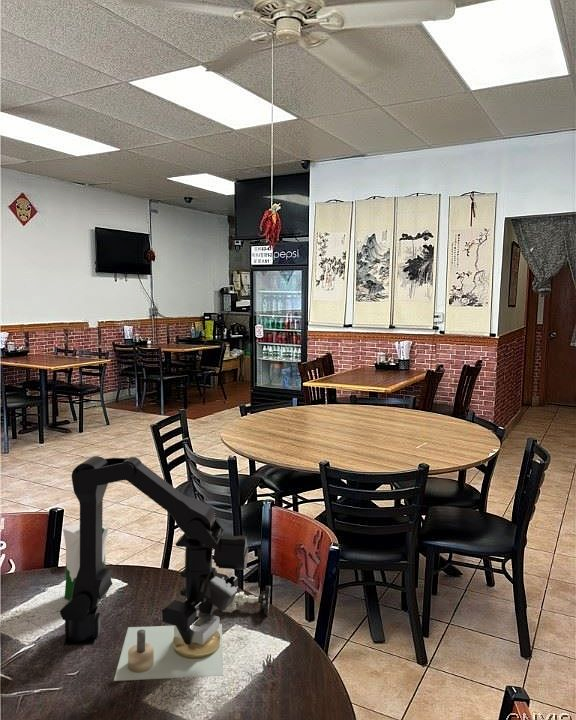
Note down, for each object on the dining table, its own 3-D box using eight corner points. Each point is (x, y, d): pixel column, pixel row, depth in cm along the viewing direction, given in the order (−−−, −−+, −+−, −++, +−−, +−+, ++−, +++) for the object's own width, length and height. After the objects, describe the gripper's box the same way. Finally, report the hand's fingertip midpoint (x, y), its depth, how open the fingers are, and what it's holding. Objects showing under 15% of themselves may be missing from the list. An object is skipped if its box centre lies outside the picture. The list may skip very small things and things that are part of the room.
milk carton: (80, 611, 131) (80, 529, 129) (58, 598, 136) (58, 519, 135) (111, 596, 138) (112, 519, 136) (89, 584, 143) (90, 510, 142)
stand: (126, 673, 109) (126, 639, 108) (129, 657, 114) (130, 625, 113) (152, 672, 110) (152, 638, 109) (154, 656, 115) (155, 624, 114)
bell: (171, 660, 114) (171, 642, 113) (174, 631, 124) (175, 615, 123) (220, 657, 115) (220, 640, 115) (219, 630, 125) (220, 613, 125)
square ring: (174, 636, 117) (174, 625, 117) (191, 619, 124) (192, 609, 123) (202, 644, 114) (203, 633, 114) (219, 627, 121) (219, 616, 121)
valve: (217, 617, 131) (267, 620, 130) (217, 590, 130) (268, 593, 130) (221, 602, 138) (269, 605, 137) (222, 577, 137) (270, 580, 136)
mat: (113, 682, 107) (113, 680, 107) (128, 629, 125) (128, 627, 125) (223, 677, 110) (223, 675, 110) (221, 625, 127) (222, 623, 127)
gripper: (209, 594, 106) (207, 671, 107) (251, 555, 123) (249, 622, 125) (160, 581, 110) (159, 655, 112) (208, 545, 127) (206, 610, 129)
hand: (196, 635), depth 119 cm, fingers closed on square ring, 7 cm apart
